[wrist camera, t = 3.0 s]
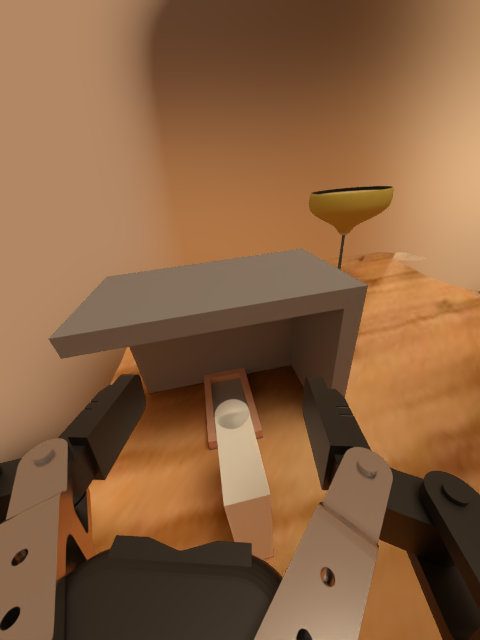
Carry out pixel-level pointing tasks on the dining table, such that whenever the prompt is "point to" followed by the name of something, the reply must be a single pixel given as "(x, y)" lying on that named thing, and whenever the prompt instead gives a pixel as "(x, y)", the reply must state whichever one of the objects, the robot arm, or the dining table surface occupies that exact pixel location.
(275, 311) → the shelf
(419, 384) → the dining table surface
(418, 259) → the dining table surface
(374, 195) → the cocktail glass
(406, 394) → the dining table surface
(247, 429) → the tall beige pillar
